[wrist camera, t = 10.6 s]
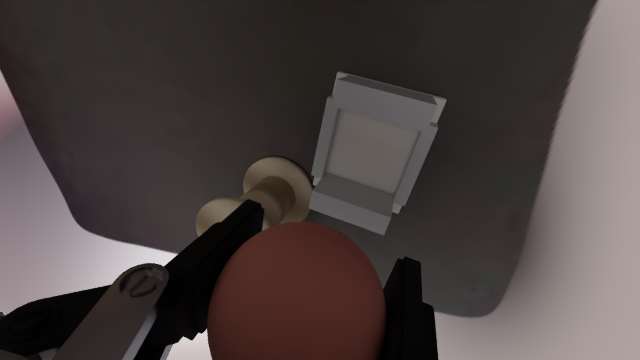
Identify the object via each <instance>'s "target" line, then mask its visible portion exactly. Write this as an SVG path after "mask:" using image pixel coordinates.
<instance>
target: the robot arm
mask: <svg viewBox="0 0 640 360" xmlns="http://www.w3.org/2000/svg"><path fill="white" fill-rule="evenodd" d="M264 211H265V210H264V208H262V205H261V203H258V202H256V201H253V200H250V199H247V200H246V201H244V202H243V203H242V204H241V205H240V206H239V207H238V208H236V209H235V210H234V211H233V212H232V213H231V214H230V215H228V216H227V217H226V218H225V219H224V220H223V221H222V222H216V223H215V224H213V225H212V226H211V227H210V228H208V229H207V230H206V231H205V232H204V233H203V234H201V235H200V236H199V237H198V238H197V239H196V240H194V241H193V242H192V243H191V244H190V245H189V246H187V247H186V248H185V249H184V250H183V251H182V252H180V253H179V254H178V255H177V256H176V257H175V258H173V259H172V260H171V261H170V262H169V263H168V264H166V265H165V266H164V267H163V266H162V265H159V264H155V263H146V264H141V265H137V266H134V267H132V268H130V269H128V270H126V271H125V272H123V273H122V274H121V275H120V276H119V277H118V278H117V279H116V280H115V281H114V282H113V284H112V285H108V286H103V287H98V288H93V289H88V290H83V291H78V292H73V293H69V294H64V295H59V296H54V297H49V298H44V299H40V300H36V301H33V302H30V303H27V304H25V305H23V306H21V307H18V308H17V309H15V310H14V311H12V312H11V313H9V314H7V315H5V316H4V314H3V313H2V312H0V360H166V358H167V356H168V354H169V352H170V349H171V347H172V345H173V344H175V343H177V342H179V340H180V339H181V338H182V337H183V336H184V337H186V338H188V339H190V340H193V339H194V338H195V336H196V335H197V334H198V332H199V333H203V332H204V331H205V330H206V329H207V319H208V308H209V303H210V299H211V295H212V291H213V289H214V286H215V283H216V281H217V278H218V277H219V275H220V273H221V271H222V269H223V268H224V266H225V264H226V263H227V261H228V260H229V259H230V257H231V256H232V255H233V254H234V253H235V251H236V250H237V249H238V248H239V247H240V246H241V245H243V244H244V243H245V242H246V241H247V240H249V239H250V238H252V237H253V236H254V235H256V234H258V233H260V232H261V231H262V227H263V219H264ZM383 292H384V297H385V303H386V333H385V339H384V343H383V347H382V351H381V354H380V358H379V360H438V352H437V339H436V328H435V316H434V309H433V307H432V306H431V305H429V304H426V303H424V302H422V282H421V263H420V262H419V261H416V260H413V259H411V258H408V257H404V258H403V260H402V259H399V258H398V259H397V261H396V263H395V266H394V268H393V270H392V272H391V274H390V276H389V278H388V280H387V283H386V285H385V287H384V289H383Z"/></svg>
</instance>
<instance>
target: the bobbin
mask: <svg viewBox="0 0 640 360" xmlns="http://www.w3.org/2000/svg"><path fill="white" fill-rule="evenodd" d="M243 189H244V195H243V196H241V197H240V198H236V197H230V196H223V197H218V198H215V199H213V200H212V201H210V202H209V203H207V204H206V205H205V206H203V207H202V208H201V209H200V211H199V212H198V215H197V218H196V230H197V234H198V237H199V236H200V235H201V234H203V233H204V232H205V231H206V230H207V229H208V228H210V227H211V226H212V225H213V224H215V223H216V222H222V221H223V220H224V219H225V218H226V217H227V216H228V215H230V214H231V213H232V212H233V211H234V210H235V209H236V208H238V207H239V206H240V205H241V204H242V203H243V202H244V201H246V200H247V199H250V200H253V201H256V202H258V203H261V205H262V208H264V210H265V211H264V219H263V227H262V231H263V230H266V229H268V228H270V227H273V226H276V225H279V224H284V223H289V222H301V221H303V220H304V219H305V218H306V217H307V215H308V214H309V212H310V211H311V209H309V203H310V199H311V194H312V190H313V186H312V184H311V181H310V179H309V178H308V176H307V175H306V173H305V172H304V171H303V170H302V169H301V168H300V167H299V166H298V165H296V164H295V163H293V162H292V161H290V160H287V159H285V158H281V157H266V158H262V159H260V160H259V161H257V162H256V163H254V164H253V165H252V166H251V167H250V168H249V169H248V170H247V172H246V174H245V177H244V181H243Z"/></svg>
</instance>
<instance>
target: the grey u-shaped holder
mask: <svg viewBox="0 0 640 360" xmlns="http://www.w3.org/2000/svg"><path fill="white" fill-rule="evenodd" d="M446 101H447V100H446V99H445V98H442V97H438V96H434V95H430V94H427V93H423V92H419V91H415V90H411V89H407V88H403V87H399V86H395V85H391V84H387V83H383V82H380V81H376V80H372V79H368V78H364V77H360V76H356V75H352V74H348V73H344V72H337V76H336V81H335V85H334V90H333V94H332V95H331V96H329V97H327V102H326V106H325V111H324V116H323V121H322V125H321V130H320V135H319V140H318V144H317V149H316V154H315V158H314V163H313V168H312V173H311V175H313V176H314V181H313V185H315V188H314V189H313V190H312V194H311V199H310V203H309V209H312V210H315V211H317V212H320V213H323V214H326V215H329V216H331V217H334V218H337V219H340V220H343V221H345V222H348V223H351V224H354V225H356V226H359V227H362V228H365V229H368V230H370V231H373V232H376V233H379V234H382V235H384V234H385V232H386V229H387V227H388V224H389V222H390V220H391V216H392V212H394V213H397V214H399V211H400V209H401V207H402V205H403V206H405V204H406V202H407V200H408V197H409V195H410V193H411V191H412V188H413V186H414V184H415V181H416V179H417V177H418V174H419V172H420V170H421V167H422V165H423V163H424V160H425V158H426V156H427V153H428V151H429V149H430V146H431V144H432V142H433V139H434V137H435V135H436V133H437V130H438V125H437V122H438V119H439V117H440V115H441V112H442V110H443V108H444V105H445V103H446Z"/></svg>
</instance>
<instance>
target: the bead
mask: <svg viewBox="0 0 640 360" xmlns="http://www.w3.org/2000/svg"><path fill="white" fill-rule="evenodd" d="M207 333H208V344H209V348H210V352H211V356H212V360H379V358H380V354H381V351H382V347H383V343H384V339H385V333H386V303H385V297H384V292H383V289H382V285H381V282H380V280H379V277H378V274H377V273H376V271H375V269H374V267H373V265H372V263H371V262H370V260H369V259H368V257H367V256H366V254H365V253H364V252H363V251H362V250H361V249H360V248H359V247H358V246H357V245H356V244H355V243H354V242H353V241H352V240H351V239H349V238H348V237H347V236H345V235H344V234H342V233H340V232H339V231H337V230H335V229H332V228H330V227H328V226H324V225H321V224H317V223H312V222H289V223H284V224H279V225H276V226H273V227H270V228H268V229H266V230H263V231H261V232H260V233H258V234H256V235H254V236H253V237H252V238H250V239H249V240H247V241H246V242H245V243H244V244H243V245H241V246H240V247H239V248H238V249H237V250H236V251H235V253H234V254H233V255H232V256H231V257H230V259H229V260H228V261H227V263H226V264H225V266H224V268H223V269H222V271H221V273H220V275H219V277H218V278H217V281H216V283H215V286H214V289H213V291H212V295H211V299H210V303H209V308H208V319H207Z"/></svg>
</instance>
